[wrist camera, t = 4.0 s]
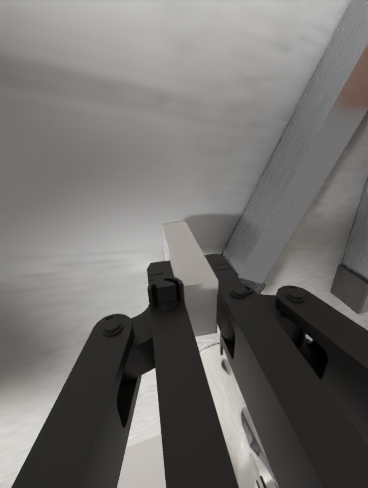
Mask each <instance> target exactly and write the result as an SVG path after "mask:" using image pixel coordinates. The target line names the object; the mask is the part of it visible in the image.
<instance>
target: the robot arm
mask: <svg viewBox="0 0 368 488" xmlns="http://www.w3.org/2000/svg"><path fill="white" fill-rule="evenodd" d="M162 230H163V241H164V252H165V261H162V262H155V263H150V265H149V267H148V268H147V273H148V284H149V285H148V296H149V303H150V304H149V306H148V308H147V309H146V310H145V311H144V312H143V313H141V314H140V315H138V316H136V317H133V318H131V319H130V318H129V317H128V316H126V315H123V314H113V315H109V316H107V317H104V318H103V319H101V320H100V321H99V322H98V323H97V324H96V325H95V326H94V328H93V330H92V332H91V334H90V336H89V338H88V340H87V342H86V344H85V345H84V347H83V349H82V351H81V353H80V355H79V357H78V359H77V361H76V363H75V365H74V367H73V369H72V371H71V373H70V375H69V377H68V379H67V380H66V382H65V384H64V386H63V388H62V390H61V392H60V394H59V396H58V398H57V400H56V402H55V404H54V406H53V408H52V410H51V412H50V414H49V416H48V417H47V419H46V421H45V423H44V425H43V427H42V429H41V431H40V433H39V435H38V437H37V439H36V441H35V443H34V445H33V447H32V449H31V451H30V452H29V454H28V456H27V458H26V460H25V462H24V464H23V466H22V468H21V470H20V472H19V474H18V476H17V478H16V480H15V482H14V484H13V486H12V488H117V484H118V480H119V476H120V471H121V467H122V462H123V458H124V453H125V449H126V444H127V440H128V435H129V431H130V426H131V422H132V417H133V413H134V408H135V404H136V399H137V395H138V390H139V386H140V381H141V375H143V374H144V373H146V372H148V371H150V370H152V369H154V368H156V379H157V390H158V402H159V413H160V424H161V435H162V446H163V457H164V468H165V479H166V488H239V486H238V483H237V479H236V476H235V472H234V469H233V465H232V462H231V459H230V455H229V452H228V448H227V445H226V442H225V438H224V435H223V431H222V428H221V424H220V421H219V418H218V414H217V411H216V407H215V404H214V400H213V397H212V394H211V390H210V387H209V383H208V380H207V377H206V373H205V370H204V366H203V363H202V359H201V356H200V353H199V349H198V346H197V342H196V339H195V336H201V335H206V334H212V333H217V324H218V326H219V329H220V331H221V335H220V355H223V349H224V351H225V354H226V356H227V359H228V361H229V364H230V366H231V369H232V371H233V374H234V376H235V379H236V381H237V384H238V386H239V389H240V391H241V394H242V396H243V399H244V401H245V404H246V406H247V409H248V411H249V414H250V416H251V419H252V421H253V424H254V426H255V429H256V431H257V434H258V436H259V439H260V441H261V444H262V446H263V449H264V451H265V454H266V456H267V459H268V461H269V464H270V466H271V469H272V471H273V474H274V476H275V479H276V481H277V484H278V486H279V488H368V331H367V330H366V329H364V328H363V327H361V326H360V325H358V324H357V323H355V322H354V321H352V320H351V319H349V318H348V317H346V316H345V315H343V314H342V313H340V312H339V311H337V310H336V309H334V308H333V307H331V306H329V305H328V304H326V303H325V302H323V301H322V300H320V299H319V298H317V297H316V296H314V295H313V294H311V293H310V292H308V291H307V290H305V289H303V288H300V287H296V286H283V287H281V288H279V289H278V291H277V294H276V296H275V295H262V294H257V293H256V292H255V290H254V289H253V288H252V287H250V286H248V285H246V284H242V283H241V282H240V281H239V279H238V278H237V276H236V275H235V273H234V272H233V270H232V269H231V267H230V266H229V265H228V263H227V262H226V260H225V259H224V258H223V257H222V256H220V255H218V254H210V255H204V254H203V252H202V250H201V248H200V247H199V245H198V243H197V241H196V239H195V237H194V236H193V234H192V232H191V230H190V228H189V226H188V225H187V223H186V221H184V222H175V223H166V224H162ZM306 334H307V335H308V336H310V337H311V338H312V339H313V341H310V340H308V339H307V338H306V337H305V336H306Z"/></svg>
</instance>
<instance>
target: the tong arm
mask: <svg viewBox="0 0 368 488" xmlns="http://www.w3.org/2000/svg"><path fill="white" fill-rule="evenodd" d="M367 111H368V0H352V1H351V3H350V5H349V7H348V9H347V11H346V13H345V15H344V17H343V19H342V21H341V23H340V25H339V27H338V29H337V30H336V32H335V34H334V36H333V38H332V40H331V42H330V44H329V46H328V48H327V50H326V52H325V54H324V56H323V58H322V60H321V62H320V64H319V66H318V68H317V70H316V72H315V74H314V76H313V78H312V80H311V82H310V84H309V86H308V87H307V89H306V91H305V93H304V95H303V97H302V99H301V101H300V103H299V105H298V107H297V109H296V111H295V113H294V115H293V117H292V119H291V121H290V123H289V125H288V127H287V129H286V131H285V133H284V135H283V137H282V139H281V141H280V143H279V144H278V146H277V148H276V150H275V152H274V154H273V156H272V158H271V160H270V162H269V164H268V166H267V168H266V170H265V172H264V174H263V176H262V178H261V180H260V182H259V184H258V186H257V188H256V190H255V192H254V194H253V196H252V198H251V200H250V202H249V203H248V205H247V207H246V209H245V211H244V213H243V215H242V217H241V219H240V221H239V223H238V225H237V227H236V229H235V231H234V233H233V235H232V237H231V239H230V241H229V243H228V245H227V247H226V249H225V251H224V253H223V255H220V254H219V255H220V256H222V257H223V258H224V259H225V260H226V262H227V263H228V265H229V266H230V267H231V269H232V270H233V272H234V273H235V275H236V276H237V278H238V279H239V281H240V282H241V283H242V284H246V285H248V286H250V287H252V288H253V289H254V290H255V292H256V293H257V294H261V292H262V290H263V289H264V287H265V285H266V284H265V283H264V280H265V279H266V277H267V275H268V274H269V272H270V270H271V269H272V267H273V266H274V264H275V262H276V261H277V259H278V257H279V256H280V254H281V252H282V251H283V249H284V247H285V246H286V244H287V242H288V241H289V239H290V238H291V236H292V234H293V233H294V231H295V229H296V228H297V226H298V224H299V223H300V221H301V219H302V218H303V216H304V214H305V213H306V211H307V210H308V208H309V206H310V205H311V203H312V201H313V200H314V198H315V196H316V195H317V193H318V191H319V190H320V188H321V187H322V185H323V183H324V182H325V180H326V178H327V177H328V175H329V173H330V172H331V170H332V168H333V167H334V165H335V163H336V162H337V160H338V159H339V157H340V155H341V154H342V152H343V150H344V149H345V147H346V145H347V144H348V142H349V140H350V139H351V137H352V135H353V134H354V132H355V131H356V129H357V127H358V126H359V124H360V122H361V121H362V119H363V117H364V116H365V114H366V112H367Z"/></svg>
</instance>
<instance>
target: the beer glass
mask: <svg viewBox="0 0 368 488" xmlns="http://www.w3.org/2000/svg"><path fill="white" fill-rule="evenodd" d="M200 356H201V359H202V363H203V366H204V370H205V373H206V377H207V380H208V383H209V387H210V390H211V394H212V397H213V400H214V404H215V407H216V411H217V414H218V418H219V421H220V424H221V428H222V431H223V435H224V438H225V442H226V445H227V448H228V452H229V455H230V459H231V462H232V465H233V469H234V472H235V476H236V479H237V483H238V486H239V488H279V486H278V484H277V481H276V479H275V476H274V474H273V471H272V469H271V466H270V464H269V461H268V459H267V456H266V454H265V451H264V449H263V446H262V444H261V441H260V439H259V436H258V434H257V431H256V429H255V426H254V424H253V421H252V419H251V416H250V414H249V411H248V409H247V406H246V404H245V401H244V399H243V396H242V394H241V391H240V389H239V386H238V384H237V381H236V379H235V376H234V374H233V371H232V369H231V366H230V364H229V361H228V359H227V356H226V354H225V351H224V349H223V355H220V344H216V345H212V346H210V347H208V348H206V349H204V350H202V351H201V352H200Z"/></svg>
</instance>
